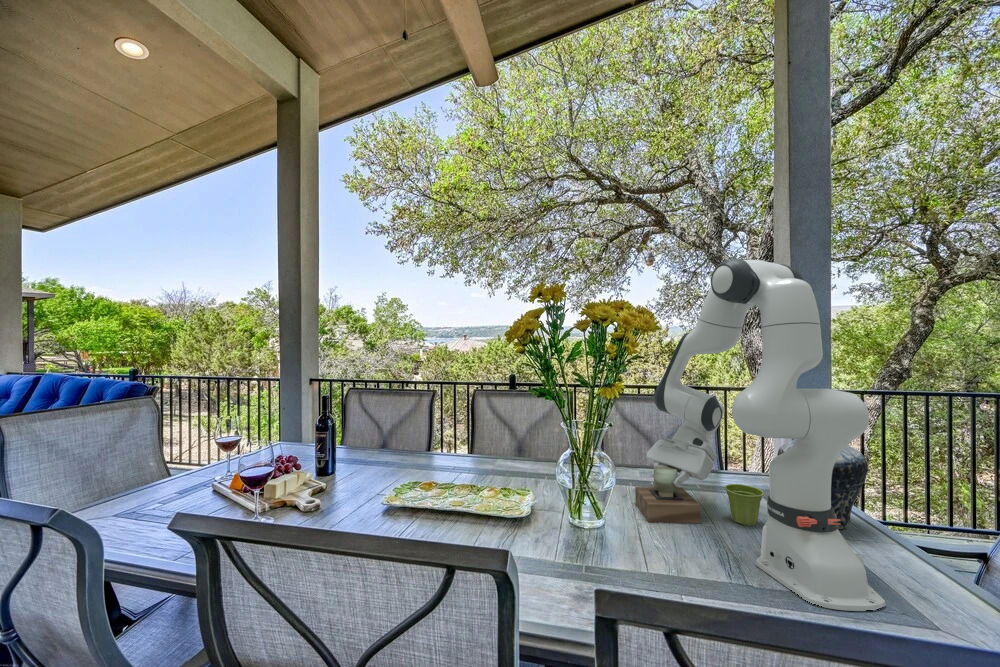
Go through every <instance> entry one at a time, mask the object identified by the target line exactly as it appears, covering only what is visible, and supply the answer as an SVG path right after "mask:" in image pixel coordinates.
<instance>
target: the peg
mask: <svg viewBox="0 0 1000 667" xmlns="http://www.w3.org/2000/svg"><path fill="white" fill-rule="evenodd" d="M653 471H654V478H653V487H654V489H656V490H658V491H659V497H673V492H677V491H678V487H676V486H674V485H673V484H672V483H671V482H672V480H673V479H674V478H677V477H678V472H677V468H675V467H672V466H669V465H656V466H654V465H653Z"/></svg>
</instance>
